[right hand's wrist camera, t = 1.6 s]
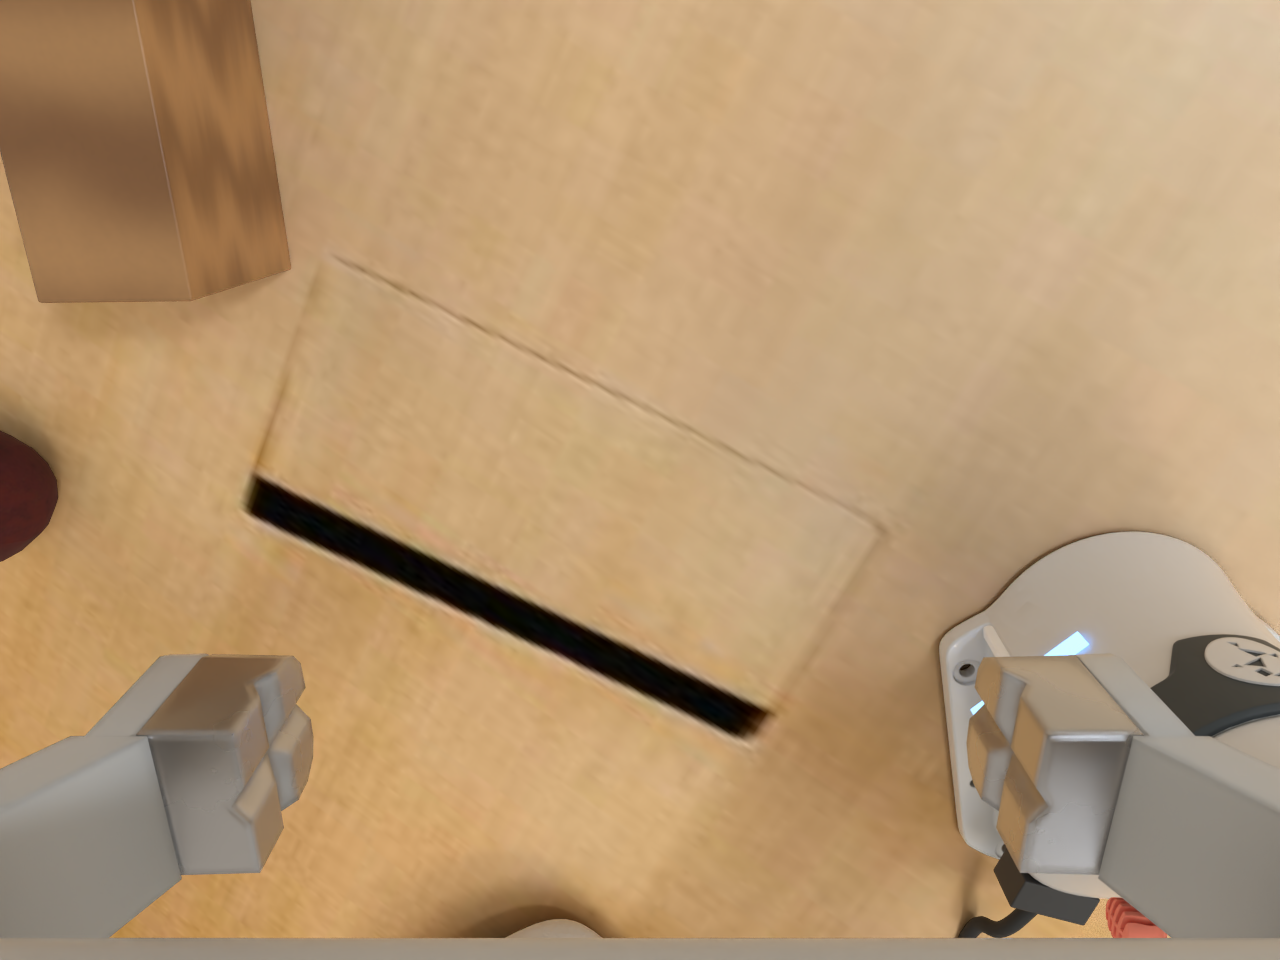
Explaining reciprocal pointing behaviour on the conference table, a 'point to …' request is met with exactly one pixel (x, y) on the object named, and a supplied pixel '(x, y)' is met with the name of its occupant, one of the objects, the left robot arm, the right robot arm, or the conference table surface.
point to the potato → (23, 495)
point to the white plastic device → (556, 930)
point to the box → (138, 148)
